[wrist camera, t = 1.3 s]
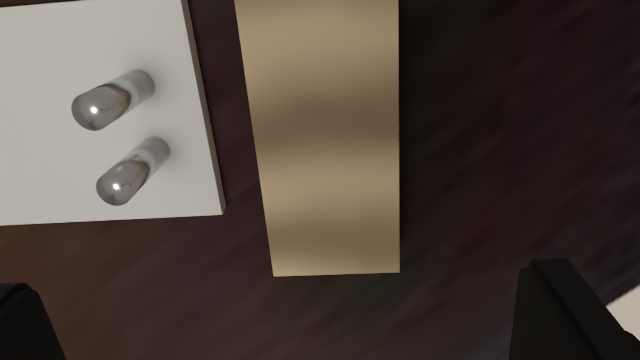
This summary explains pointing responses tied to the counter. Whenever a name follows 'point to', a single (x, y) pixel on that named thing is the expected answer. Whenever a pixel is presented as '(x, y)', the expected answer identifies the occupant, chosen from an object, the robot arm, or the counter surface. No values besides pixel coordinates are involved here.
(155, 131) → the peg stand
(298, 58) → the oak shelf board
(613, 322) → the robot arm
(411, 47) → the counter surface
